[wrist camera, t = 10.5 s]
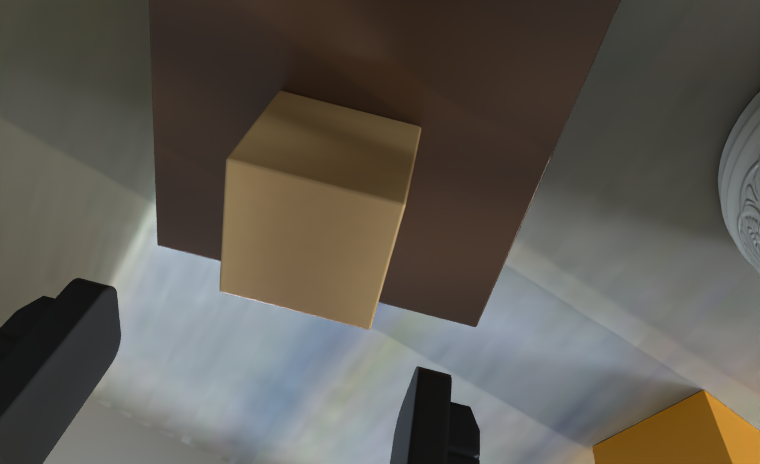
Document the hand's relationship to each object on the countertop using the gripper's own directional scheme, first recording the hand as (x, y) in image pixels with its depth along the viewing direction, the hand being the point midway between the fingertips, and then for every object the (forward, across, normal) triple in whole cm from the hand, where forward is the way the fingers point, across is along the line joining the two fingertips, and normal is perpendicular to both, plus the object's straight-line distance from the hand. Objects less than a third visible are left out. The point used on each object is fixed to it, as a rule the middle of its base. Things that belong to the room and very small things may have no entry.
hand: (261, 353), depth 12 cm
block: (+8, 0, 0) cm, 8 cm away
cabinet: (+18, 0, -2) cm, 18 cm away
